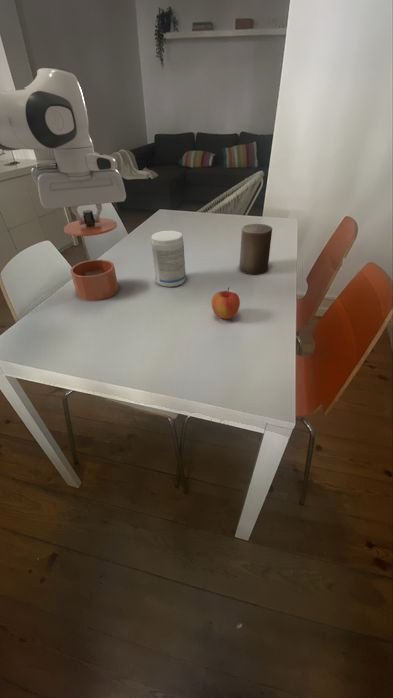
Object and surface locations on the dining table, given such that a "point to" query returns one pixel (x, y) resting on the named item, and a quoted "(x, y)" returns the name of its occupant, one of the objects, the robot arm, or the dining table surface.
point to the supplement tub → (168, 258)
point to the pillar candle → (255, 248)
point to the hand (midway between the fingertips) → (90, 223)
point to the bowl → (94, 280)
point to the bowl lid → (90, 226)
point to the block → (93, 273)
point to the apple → (225, 304)
